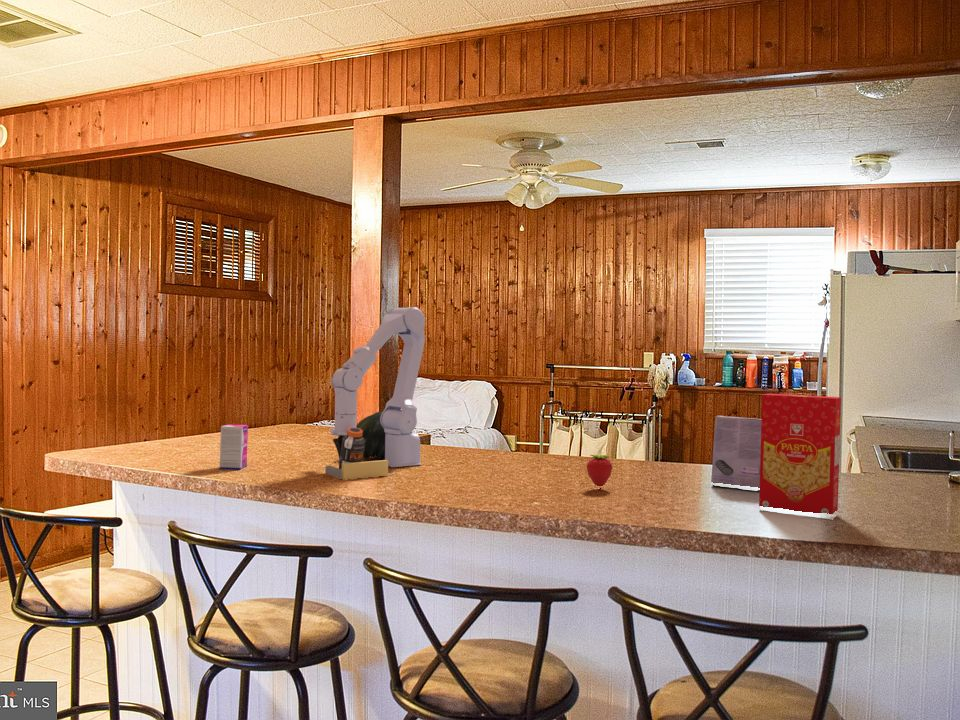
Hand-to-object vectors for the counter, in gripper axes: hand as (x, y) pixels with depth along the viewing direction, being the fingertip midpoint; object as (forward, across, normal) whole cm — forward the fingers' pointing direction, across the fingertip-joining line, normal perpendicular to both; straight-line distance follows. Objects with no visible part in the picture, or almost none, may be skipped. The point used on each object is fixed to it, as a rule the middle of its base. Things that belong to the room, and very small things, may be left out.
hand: (344, 465), depth 214 cm
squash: (+2, -16, +18) cm, 25 cm away
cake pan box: (+1, +71, +76) cm, 104 cm away
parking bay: (+2, +7, 0) cm, 7 cm away
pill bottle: (+1, +3, 0) cm, 3 cm away
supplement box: (+2, -18, -24) cm, 30 cm away
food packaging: (+1, +93, +62) cm, 112 cm away
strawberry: (+1, +52, +43) cm, 68 cm away
